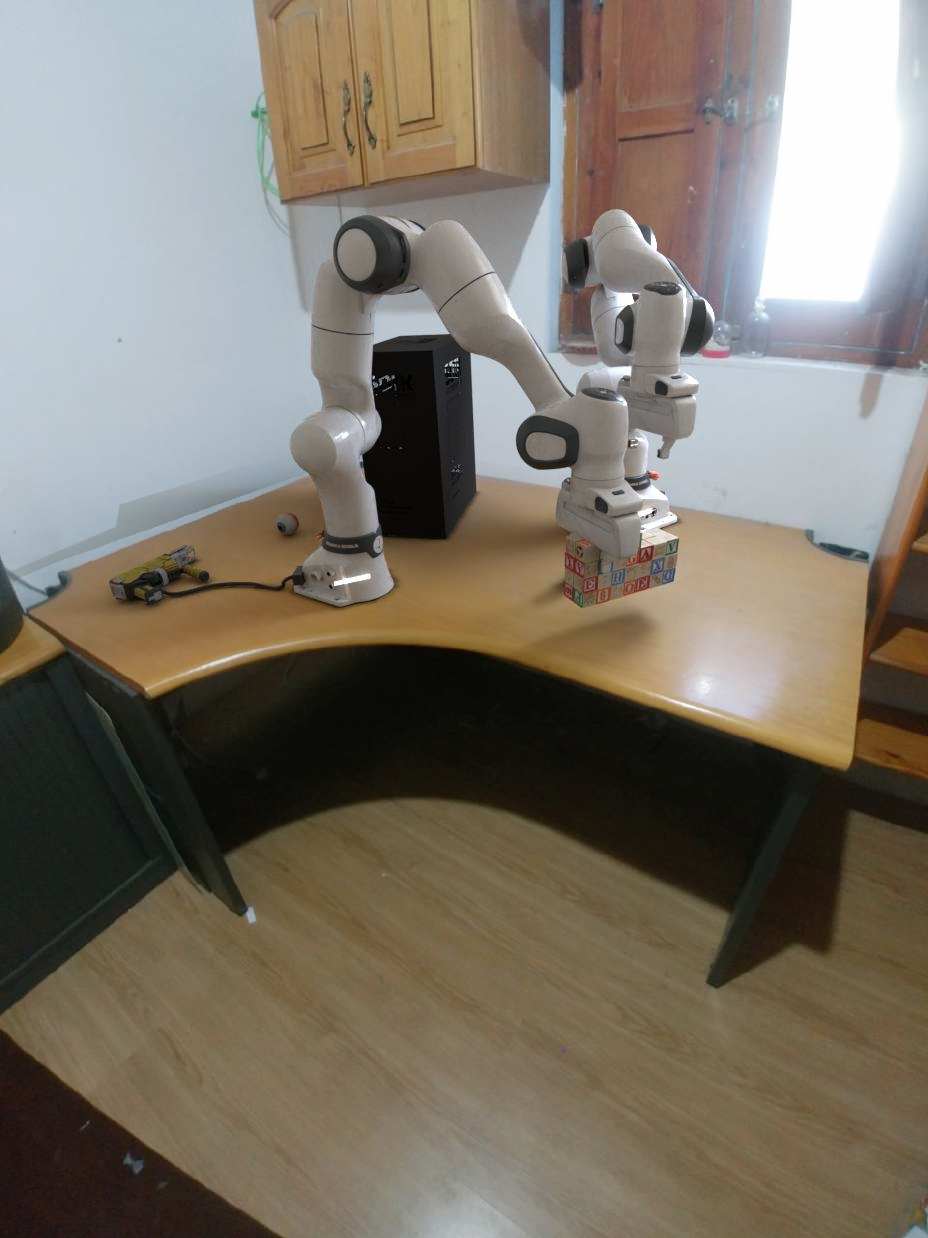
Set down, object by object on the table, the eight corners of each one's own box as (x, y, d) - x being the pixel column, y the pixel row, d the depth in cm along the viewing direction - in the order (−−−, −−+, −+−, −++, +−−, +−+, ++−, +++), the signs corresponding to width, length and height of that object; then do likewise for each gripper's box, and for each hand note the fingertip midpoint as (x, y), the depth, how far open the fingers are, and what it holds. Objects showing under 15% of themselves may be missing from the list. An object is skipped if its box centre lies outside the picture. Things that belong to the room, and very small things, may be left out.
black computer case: (446, 538, 156) (432, 350, 134) (372, 535, 161) (348, 352, 138) (476, 491, 188) (469, 333, 165) (414, 490, 192) (399, 335, 170)
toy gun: (232, 553, 147) (182, 542, 151) (158, 593, 127) (102, 580, 131) (234, 570, 150) (185, 559, 154) (162, 613, 130) (107, 599, 134)
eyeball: (273, 537, 164) (268, 516, 161) (287, 528, 169) (282, 508, 166) (291, 539, 161) (286, 518, 158) (305, 530, 166) (301, 510, 163)
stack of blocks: (652, 570, 122) (659, 512, 116) (674, 582, 117) (683, 522, 111) (562, 595, 114) (565, 534, 108) (581, 609, 109) (585, 546, 103)
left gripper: (548, 477, 110) (546, 547, 117) (618, 510, 94) (611, 589, 101) (577, 471, 112) (574, 540, 119) (650, 503, 96) (641, 581, 103)
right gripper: (607, 375, 122) (602, 444, 128) (678, 388, 105) (668, 467, 112) (632, 372, 124) (626, 440, 131) (706, 384, 107) (695, 461, 114)
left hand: (591, 563), depth 110 cm, fingers closed on stack of blocks, 6 cm apart
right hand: (646, 452), depth 121 cm, fingers open, 8 cm apart
